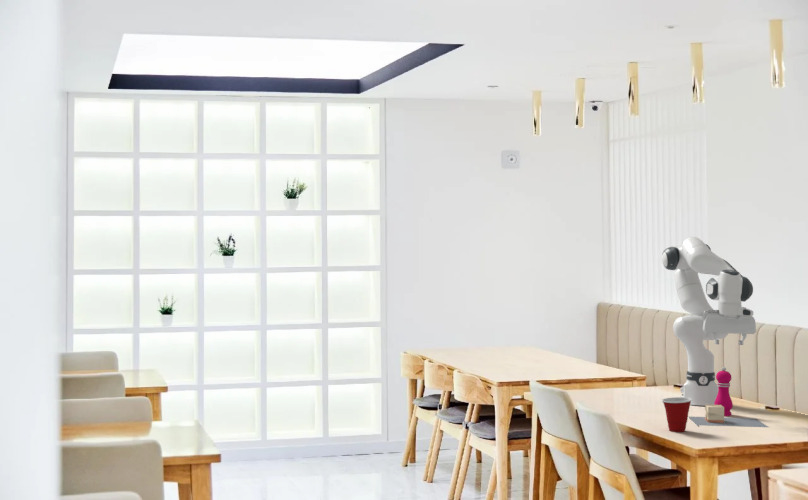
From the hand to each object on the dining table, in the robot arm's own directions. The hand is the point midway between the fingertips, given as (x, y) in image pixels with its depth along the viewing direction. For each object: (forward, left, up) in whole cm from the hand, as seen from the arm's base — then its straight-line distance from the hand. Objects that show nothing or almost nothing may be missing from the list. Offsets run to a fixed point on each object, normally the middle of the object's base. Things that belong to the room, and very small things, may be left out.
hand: (728, 344), depth 387 cm
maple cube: (+13, -8, -23) cm, 27 cm away
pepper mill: (-4, -1, -30) cm, 30 cm away
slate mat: (+13, -3, -30) cm, 32 cm away
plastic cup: (+34, -26, -30) cm, 52 cm away
